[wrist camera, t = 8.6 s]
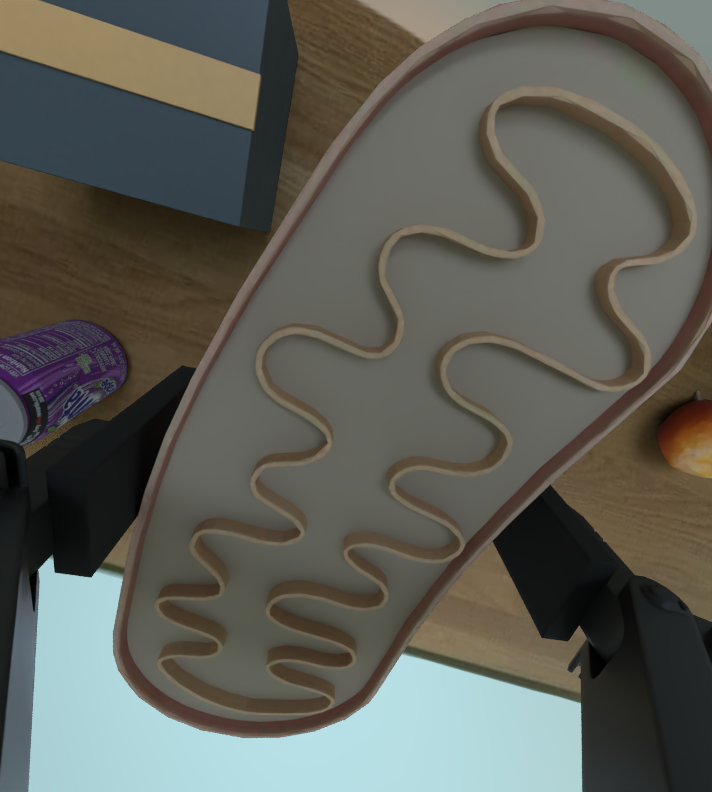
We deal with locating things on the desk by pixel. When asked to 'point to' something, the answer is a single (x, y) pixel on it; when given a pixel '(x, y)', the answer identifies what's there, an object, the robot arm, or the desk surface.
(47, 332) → the beverage can
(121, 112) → the dark blue box
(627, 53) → the anatomical model
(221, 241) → the desk surface
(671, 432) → the fruit
